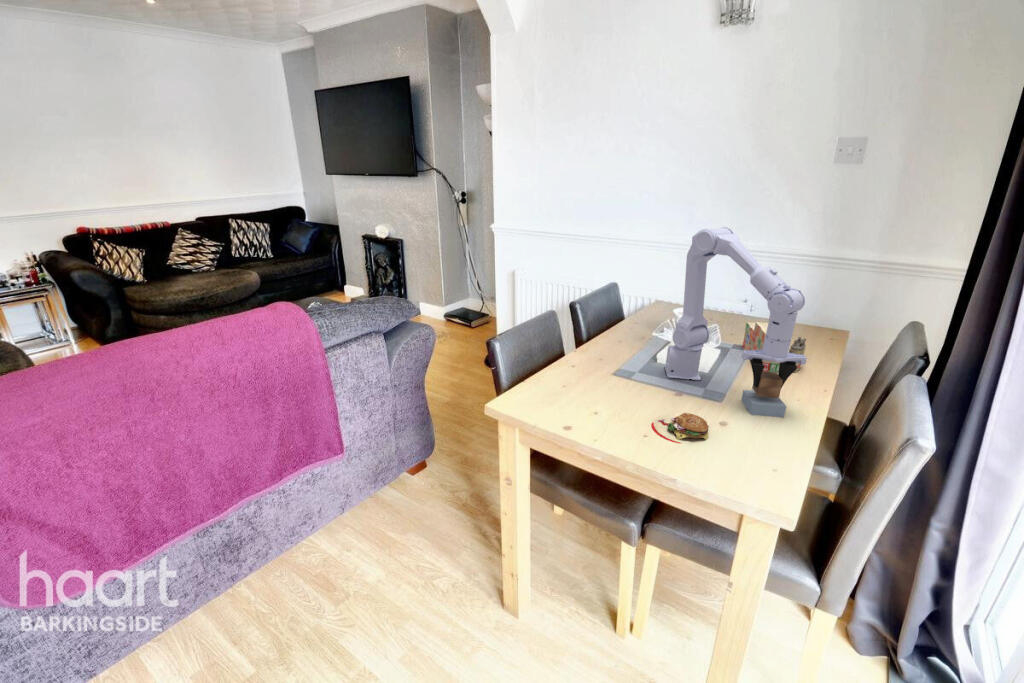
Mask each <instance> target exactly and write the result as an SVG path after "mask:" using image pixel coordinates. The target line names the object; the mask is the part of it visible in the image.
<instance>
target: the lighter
mask: <svg viewBox="0 0 1024 683" xmlns="http://www.w3.org/2000/svg"><path fill="white" fill-rule="evenodd" d="M806 341H807V339H806V338H802V337H801V336H798V337H797V339H795V340H794V341H793V343H792V344H790V347H789V351H788V353H794V354H800V355H804V356H805V351H806ZM796 366H797V369H796V371H794V372H793V373H797V372H799V371H800V369H801V367H802V364H800V363H796Z"/></svg>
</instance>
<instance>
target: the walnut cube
mask: <svg viewBox="0 0 1024 683" xmlns="http://www.w3.org/2000/svg"><path fill="white" fill-rule="evenodd" d="M782 383H783V380H782V379H781V377H780V376H779V375H778V372H767V371H762V374H761V378H760V382H759V386H758V387H755V386H754V384H752V386H753V387H752V388H753V389H754V390H753V389H752V388H751V389H752V390H753V391H755V393H756V394H757V396H761V397H771V398H780V395H781V391H782V388H783V386H782ZM781 387H782V388H781Z"/></svg>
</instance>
